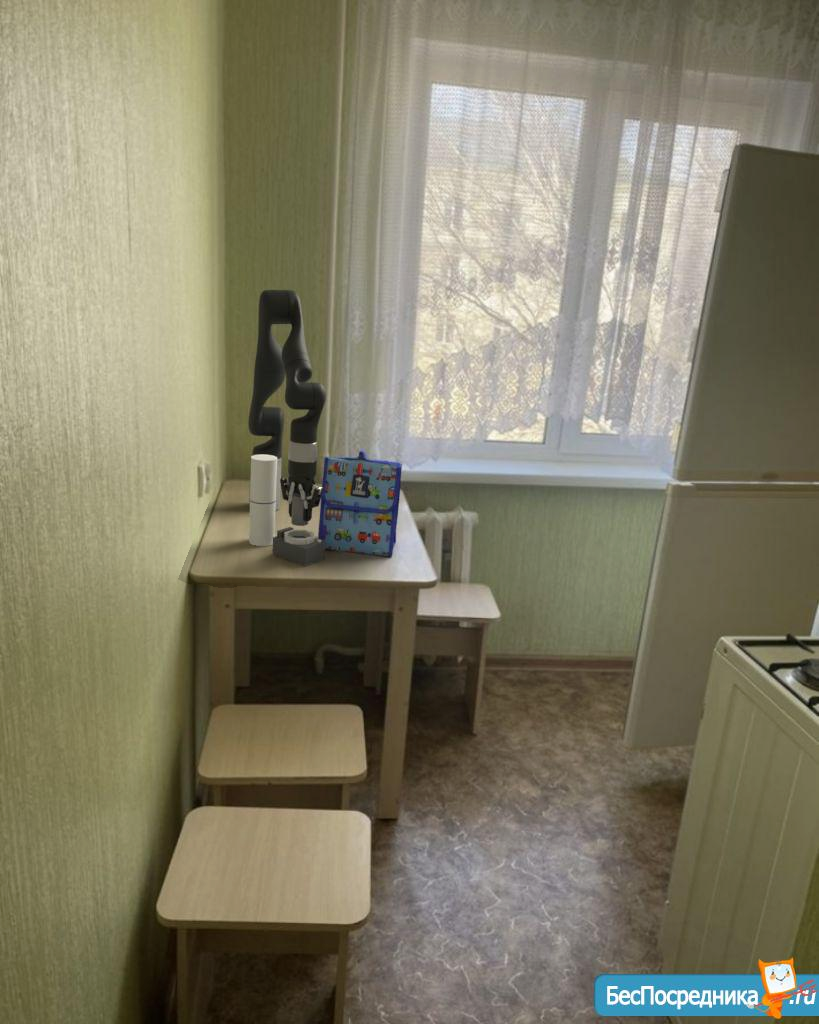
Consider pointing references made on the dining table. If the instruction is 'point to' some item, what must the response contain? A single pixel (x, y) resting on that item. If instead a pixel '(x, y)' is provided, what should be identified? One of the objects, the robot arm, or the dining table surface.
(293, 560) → the camera body
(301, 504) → the lens
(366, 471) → the lunch bag
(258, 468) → the cylindrical container
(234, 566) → the dining table surface
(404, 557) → the dining table surface
